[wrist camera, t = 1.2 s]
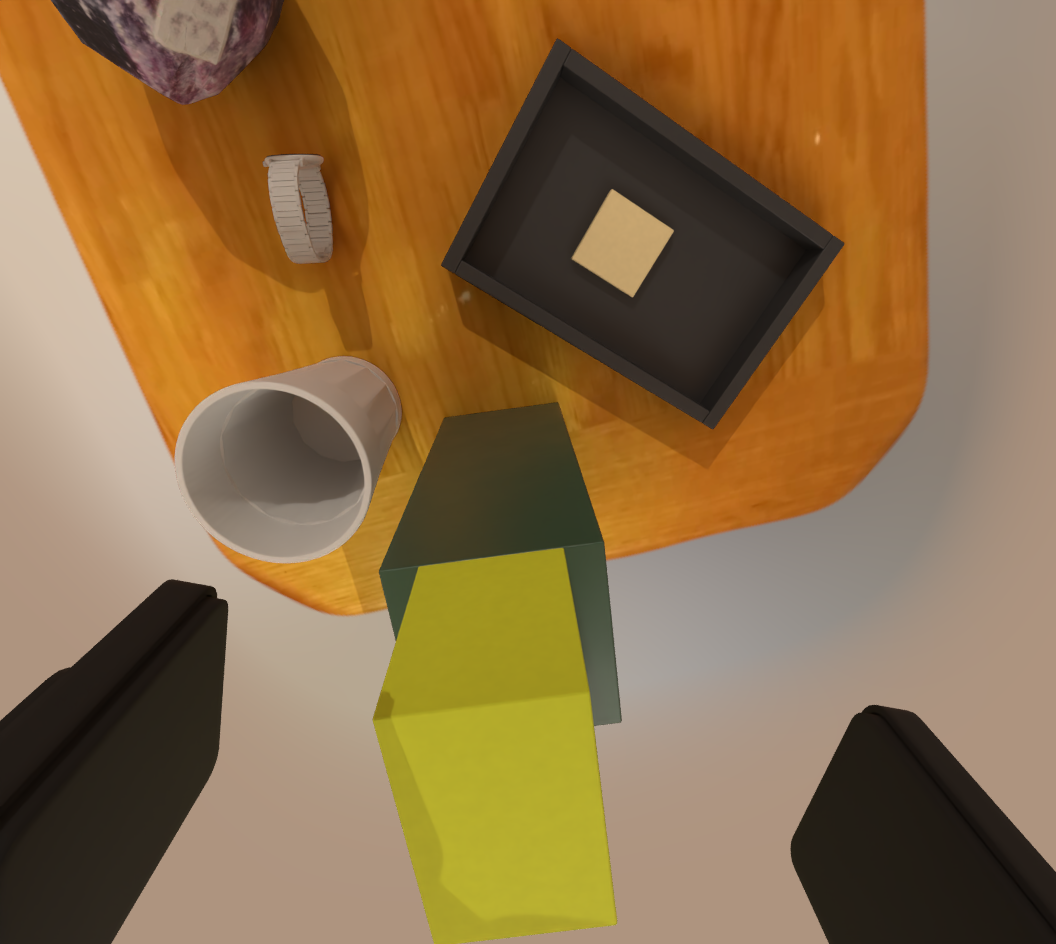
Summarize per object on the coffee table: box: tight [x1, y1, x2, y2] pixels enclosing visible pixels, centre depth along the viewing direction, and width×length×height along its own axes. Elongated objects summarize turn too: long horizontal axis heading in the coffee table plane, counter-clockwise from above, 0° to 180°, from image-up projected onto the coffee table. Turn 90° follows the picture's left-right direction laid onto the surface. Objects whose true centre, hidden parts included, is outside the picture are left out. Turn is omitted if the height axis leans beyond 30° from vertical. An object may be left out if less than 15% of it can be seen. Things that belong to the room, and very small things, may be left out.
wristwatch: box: [263, 154, 333, 264], centre depth 30 cm, size 3×5×5 cm, turn 3°
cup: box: [175, 356, 402, 563], centre depth 30 cm, size 8×8×12 cm
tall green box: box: [379, 402, 622, 726], centre depth 28 cm, size 7×7×19 cm
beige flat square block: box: [571, 189, 674, 297], centre depth 32 cm, size 4×4×1 cm
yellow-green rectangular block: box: [373, 548, 617, 944], centre depth 16 cm, size 4×7×6 cm, turn 8°
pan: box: [441, 39, 844, 429], centre depth 32 cm, size 18×12×3 cm, turn 60°
